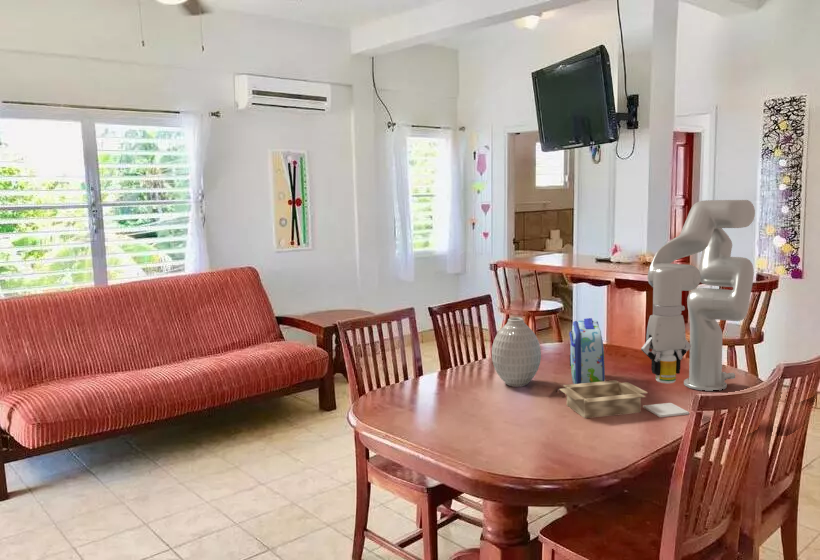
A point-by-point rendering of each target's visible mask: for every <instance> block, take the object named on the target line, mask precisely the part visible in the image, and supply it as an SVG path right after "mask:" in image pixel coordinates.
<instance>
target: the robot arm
mask: <svg viewBox="0 0 820 560" xmlns="http://www.w3.org/2000/svg"><path fill="white" fill-rule="evenodd" d="M755 216H756V210H755V206H754V204H753V203H752V201H750V200H749V199H723V200H722V199H712V200H709V199H706V200H700V201H697V202H695V203H694V204H693V205H692V206H691V208H690V210H689V212H688V214H687V217H686V219H685V222H684V224H683V227H682V228H681V231H680V234H679V235H677V236H676V237H674V238H672V239H670V240H668V242H667V243H665V244H664V245H662V246H661V247H660V248H659V249H658V250H657V251H656V252H655V254H654V256H653V258H652V260H651V263H650V265H649V268H648V271H647V281H648V284H649V285H650V286H651V288H652V289H653V290H652V314H651V315H649V318H648V322H647V327H646V335H645V338H646V339H645V343H644V344H643V345H642V346H641V349H640V350H641V352H643V354H645V355H646V356H647V357H648V358H649V359H650V360H651V368H650V370H651V373H652V374H653V375H655V376H656V375H660V362H659V357H660V354H661V351H667V350H674V354H673V355H674V356H675V357H676V375H677V374H678V375H679V374H680V372H681V364H682V363H681V360H683V357H684V356H685V354H687V352H688V351H689V365H688V367H689V370H688V377H687V378H686V379H684V380H683V385H684V386H685V387H686V388H689V389H692V390H696V391H702V390H705V391H704V392H714V391H713V390H719V391H723V390H725V389H726V388H727V386H728V384H727V382H726V381H727V380H732V379H735V378H736V373H734V372H728V373H727V372H726V371H723V370H722V369H723V336H724V335H723V331H722V328H721V326H720V324H719V322H717V320H719V321H730V322H731V321H732V322H740V321H743V320H744V319H746V316H747V315H748V311H749V307H750V300H751V295H752V289H753V283H754V276H755V275H754V274H755V271H754V264H753V263H752V261H751V260H750V259H748V258H746V257H741V256H731V255H732V249H733V242H732V239H731V238H730V236H729V235H728V234H727V232H726V231H725V230H724V229H742V228H747V227H749V226H751V225H752V224H753V222H754V220H755ZM700 252H701V254H700V255H701V256H700V260H699V265H698V267H696V266H695V265H692V264H683V263H673V262H675V261H677V260H680V259H684V258H685V257H690V256H692V255H696V254H698V253H700ZM700 283H701V284H703V285H706V286H712V287H713V286H714V287H722V288H723V287H725V288H726V287H727V288H732V289H722V288H709V287H699V285H700ZM697 287H699V288H697ZM683 291H685V292H687V291H690V292H689V293H688V295H687V298H686V299H687V300H686V302H687V303H686V304H687V310H688V317H689V341H688V340H687V339H686V338H687V337H686V335H687V334H686V326H685V319H684V315H683V314H682V313H683V312H682V311H685V310H686V308H685V307H686V306H684V305H683V304H682V294H683V293H682V292H683ZM722 389H723V390H722Z"/></svg>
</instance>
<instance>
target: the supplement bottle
mask: <svg viewBox="0 0 820 560" xmlns="http://www.w3.org/2000/svg"><path fill="white" fill-rule="evenodd" d="M673 354H674V350H667V351H661V354H660V357H659V362H660V375H656V374H655V380H656V381H657V383H661V384H674V383H675V382H676V381H677V380H676V379H677V373H676V357H675V356H674V355H673Z"/></svg>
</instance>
